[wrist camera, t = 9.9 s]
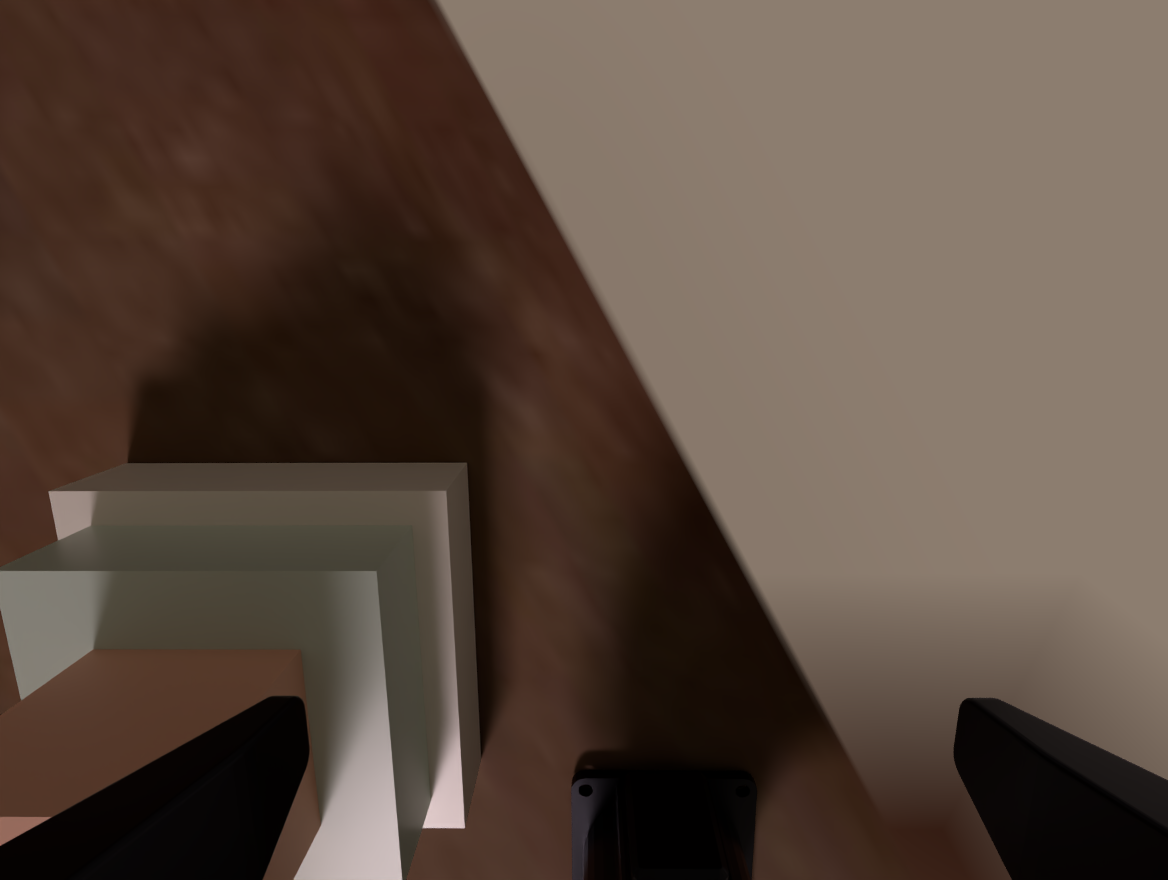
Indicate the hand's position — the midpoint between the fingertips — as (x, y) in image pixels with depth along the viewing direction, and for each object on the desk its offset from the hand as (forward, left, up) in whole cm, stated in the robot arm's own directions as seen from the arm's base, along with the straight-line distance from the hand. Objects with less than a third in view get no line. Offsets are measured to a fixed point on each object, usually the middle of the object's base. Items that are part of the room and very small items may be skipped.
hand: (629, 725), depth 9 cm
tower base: (-5, +10, -12) cm, 16 cm away
